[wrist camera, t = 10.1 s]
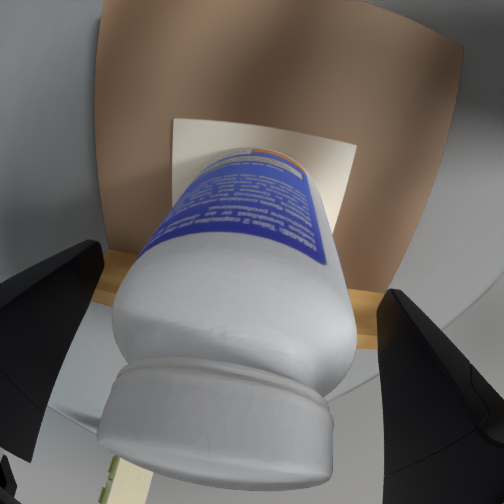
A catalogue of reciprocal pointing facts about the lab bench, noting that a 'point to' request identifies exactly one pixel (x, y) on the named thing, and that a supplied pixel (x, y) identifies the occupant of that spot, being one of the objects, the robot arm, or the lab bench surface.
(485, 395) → the robot arm
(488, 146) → the lab bench surface
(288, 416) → the pill bottle
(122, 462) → the toy refrigerator
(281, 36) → the shelf board
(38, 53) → the lab bench surface
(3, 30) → the lab bench surface
